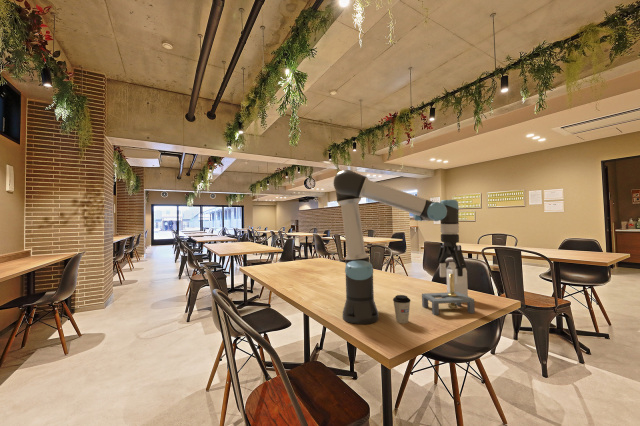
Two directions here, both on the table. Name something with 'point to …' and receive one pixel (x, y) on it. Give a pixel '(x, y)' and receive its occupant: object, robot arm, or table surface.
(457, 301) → the keyhole plate
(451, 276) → the brass t bolt
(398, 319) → the coffee cup
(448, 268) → the milk carton
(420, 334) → the table surface
